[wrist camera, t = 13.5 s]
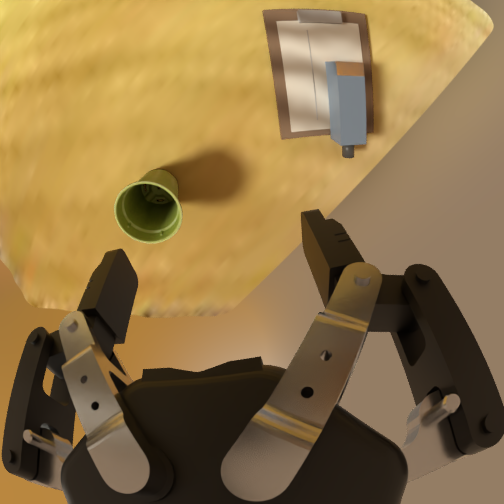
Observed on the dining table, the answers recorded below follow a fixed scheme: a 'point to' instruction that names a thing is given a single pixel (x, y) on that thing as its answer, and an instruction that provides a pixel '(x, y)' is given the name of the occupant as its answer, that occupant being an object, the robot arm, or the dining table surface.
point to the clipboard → (313, 64)
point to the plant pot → (150, 208)
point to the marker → (347, 104)
